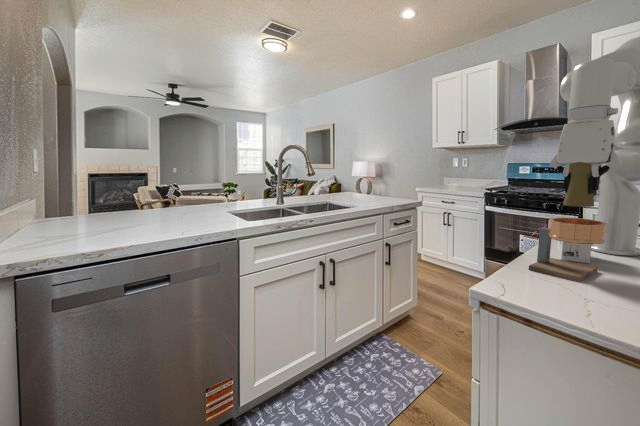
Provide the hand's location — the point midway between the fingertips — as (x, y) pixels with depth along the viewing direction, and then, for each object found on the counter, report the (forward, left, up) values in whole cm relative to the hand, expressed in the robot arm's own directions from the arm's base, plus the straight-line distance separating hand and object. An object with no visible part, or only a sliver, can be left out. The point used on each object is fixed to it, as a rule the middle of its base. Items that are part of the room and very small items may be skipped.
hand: (580, 192), depth 77 cm
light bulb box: (-16, -5, -21) cm, 27 cm away
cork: (0, 0, -3) cm, 3 cm away
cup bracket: (0, -1, -21) cm, 21 cm away
